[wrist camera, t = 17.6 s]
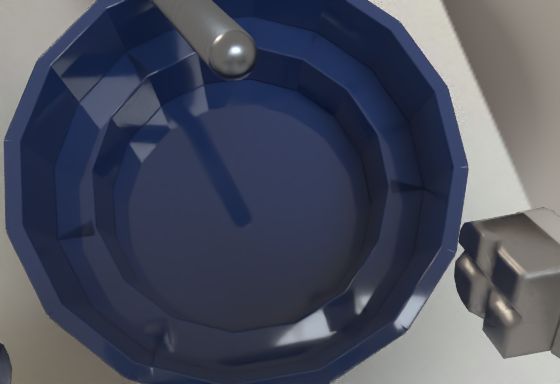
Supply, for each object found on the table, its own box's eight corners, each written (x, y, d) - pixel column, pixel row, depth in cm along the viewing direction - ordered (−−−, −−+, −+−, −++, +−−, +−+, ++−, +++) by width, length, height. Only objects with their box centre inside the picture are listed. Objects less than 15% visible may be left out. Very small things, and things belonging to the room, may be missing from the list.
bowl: (372, 414, 19) (426, 455, 13) (22, 326, 19) (-77, 328, 13) (429, 93, 23) (492, 16, 17) (134, 19, 23) (95, -83, 17)
